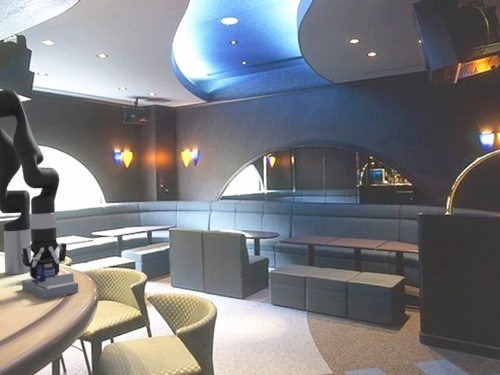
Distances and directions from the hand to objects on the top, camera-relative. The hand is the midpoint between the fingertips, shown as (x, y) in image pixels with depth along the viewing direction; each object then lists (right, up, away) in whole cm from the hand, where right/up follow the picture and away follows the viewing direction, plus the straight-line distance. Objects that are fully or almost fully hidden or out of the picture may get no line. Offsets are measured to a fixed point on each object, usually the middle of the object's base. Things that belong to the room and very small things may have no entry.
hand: (45, 276), depth 132 cm
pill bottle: (0, -3, 0) cm, 3 cm away
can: (-9, -4, +20) cm, 22 cm away
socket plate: (+3, -4, -3) cm, 6 cm away
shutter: (+7, -1, -7) cm, 10 cm away
